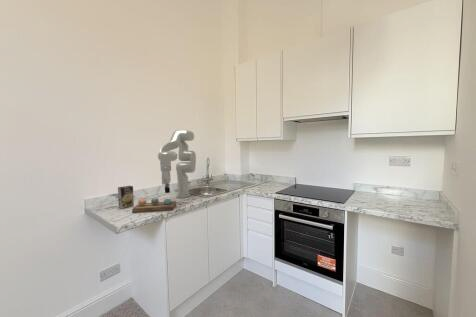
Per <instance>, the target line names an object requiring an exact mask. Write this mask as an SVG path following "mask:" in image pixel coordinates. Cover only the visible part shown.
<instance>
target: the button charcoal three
mask: <svg viewBox="0 0 476 317" xmlns="http://www.w3.org/2000/svg"><path fill="white" fill-rule="evenodd" d="M150 203H151V204H157V203H159V198H158V197H156V198H151V199H150Z"/></svg>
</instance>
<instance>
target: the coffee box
mask: <svg viewBox="0 0 476 317" xmlns="http://www.w3.org/2000/svg"><path fill="white" fill-rule="evenodd" d="M117 197H118V200H117V201H118V208H119V209H121V210H124V209H128V208H132V207H133V208H134V207H135V203H134V202H135V201H134V200H135V198H134V186H133V185H126V186H125V185H124V186H118V187H117Z"/></svg>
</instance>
